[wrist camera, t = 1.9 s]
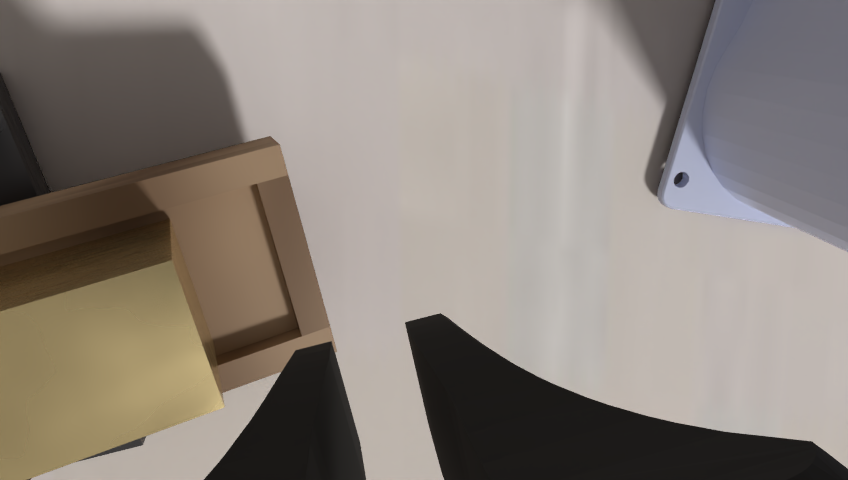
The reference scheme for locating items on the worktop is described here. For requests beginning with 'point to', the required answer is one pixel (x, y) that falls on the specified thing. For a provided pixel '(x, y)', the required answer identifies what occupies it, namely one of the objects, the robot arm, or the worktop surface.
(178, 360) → the rider
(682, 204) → the robot arm
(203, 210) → the beam
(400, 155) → the worktop surface
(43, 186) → the stand
